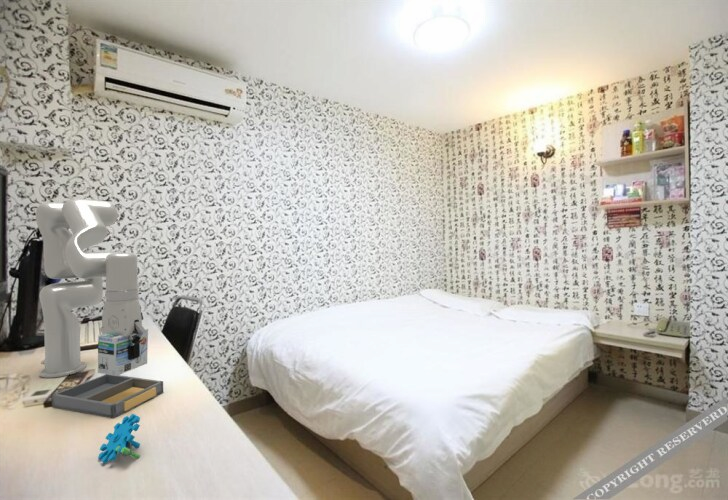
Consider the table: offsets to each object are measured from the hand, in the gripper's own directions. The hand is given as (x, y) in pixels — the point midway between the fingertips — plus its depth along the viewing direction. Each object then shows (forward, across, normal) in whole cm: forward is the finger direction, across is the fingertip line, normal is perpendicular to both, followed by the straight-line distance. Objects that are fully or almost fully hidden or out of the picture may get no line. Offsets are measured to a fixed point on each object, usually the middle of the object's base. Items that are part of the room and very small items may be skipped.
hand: (123, 356), depth 100 cm
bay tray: (+13, -6, 0) cm, 14 cm away
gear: (+14, +22, -19) cm, 32 cm away
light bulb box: (+4, 0, 0) cm, 4 cm away
